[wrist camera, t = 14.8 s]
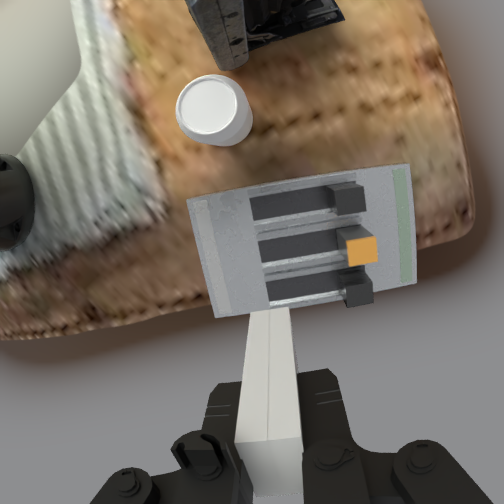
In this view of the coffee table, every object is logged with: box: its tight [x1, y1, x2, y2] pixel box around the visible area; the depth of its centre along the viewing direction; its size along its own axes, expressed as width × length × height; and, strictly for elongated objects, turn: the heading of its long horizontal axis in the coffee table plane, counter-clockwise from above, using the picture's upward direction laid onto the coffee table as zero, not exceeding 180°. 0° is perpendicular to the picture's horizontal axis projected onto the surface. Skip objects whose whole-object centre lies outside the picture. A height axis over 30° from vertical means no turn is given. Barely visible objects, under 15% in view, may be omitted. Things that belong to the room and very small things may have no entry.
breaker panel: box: [186, 163, 417, 318], centre depth 35 cm, size 26×15×7 cm, turn 101°
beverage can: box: [176, 75, 253, 146], centre depth 29 cm, size 6×6×12 cm
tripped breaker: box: [336, 225, 378, 266], centre depth 33 cm, size 3×2×6 cm
